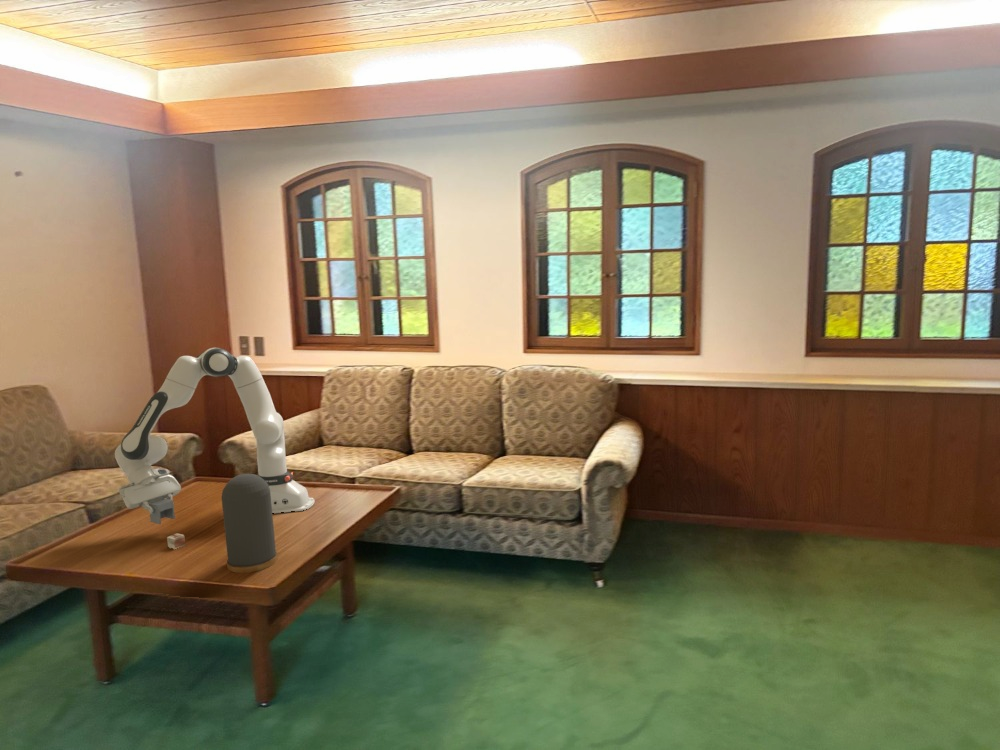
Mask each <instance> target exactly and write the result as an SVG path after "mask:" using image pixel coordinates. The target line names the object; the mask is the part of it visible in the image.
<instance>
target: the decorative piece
mask: <svg viewBox="0 0 1000 750" xmlns="http://www.w3.org/2000/svg"><path fill="white" fill-rule="evenodd" d="M221 506H222V513H223V514H222V515H223V517H222V518H223V526H224V527H223V528H224V534H225V535H224V536H225V544H226V555H227V560H226V565H227V566H226V567H227V570H229V571H230V572H233V573H241V574H242V573H245V574H246V573H253V572H259V571H261V570H265V569H267V568H270V567H271V566H273V565H275V562H276V561H277V562H278V560H277V559H279V558H278V556H279V555H278V552H277V551H276V550H277V549H276V541H275V539H276V538H275V529H274V518H273V514H272V504H271V493H270V488H269V485H268V484H267V483H266V482H265V480H264V479H262V478H261V477H260V476H258V474H255V473H254V474H253V473H241V474H238V475H236V476H234V477H232V478H231V479H230V480H229V481H227V483H225V486H224V487H223V488H222V492H221ZM277 562H276V563H277Z"/></svg>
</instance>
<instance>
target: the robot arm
mask: <svg viewBox="0 0 1000 750" xmlns="http://www.w3.org/2000/svg"><path fill="white" fill-rule="evenodd" d="M204 376H210V377H223V376H228V377H229V378H230V380H231V381H232V383H233V386H234V388H235V390H236V393H237V394H238V396H239V398H240V399H239V400H240V402H241V403H242V406H243V409H244V412H245V414H246V417H247V421H248V423H249V426H250V429H251V431H252V434H253V436H254V438H255V439H256V459H257V471H258V474H257V475H258V476H260V477H261V478H262V479H264V480H265V482H266V483H267V484H268V485H269V488H270V493H271V504H272V513H274V514H282V513H281V512H284V513H292V512H291V511H295V512H304V511H306V509H307V510H308V509H310V508H311V507H313V505H314V504H315V501H316V500H315V498H314V497H310V496H309V493H308V489H307V488H306V487H305V486H304V485H302V484H301V483H299V482H298V481H295V480H294V479H293V475H294V474H293V473H294V472H293V471H292V472H289V470H288V469H287V466H288V465H287V458H286V455H287V454H286V443H285V442H286V441H285V440H286V439H285V438H286V437H285V423H284V422H285V421H284V419H283V416H282V415H281V414H280V412H277V410H276V408H275V405H274V403H273V399H272V396H271V393H270V391H269V389H268V387H267V384H266V383H265V382H266V381H265V380H264V378H263V374H262V373H261V371H260V369H259V367H258V366H257V364H256V363H255V361H254V360H253V359H252V357H250V356H248V355H239V356H237V357H236V356H234V355H233V354H231V353H230V352H229V351H228V350H226V349H223V348H220V347H210V348H208V349H207V350H204V351H202V353H200V354H199V355H198V356H196V357H195V356H191V355H182V356H179V357H178V358H177V359H176V361H175V363H174V364H173V365H172V366H171V368H170V370H169V371H168V374H167V375H166V377H165V380H164V382H163V383H162V385H161V386H160V388H159V390H158V391H157V392H156V393H154V394H153V395H152V396H151V397H150V399H149V400H148V402H147V404H145V406H144V407H143V410H142V411H141V413H140V415H139V416H138V418H137V420H136V421H135V423H134V425H133V426H132V428H131V429H130V430H129V431H128V432H127V433H126V434H125V435H124V436H123V438H122V439H121V442H120V444H119V445H118V446H117V447H116V449H115V450H114V458H115V460H116V463H117V465H118V466H119V468H120V469H121V471H122V473H124V474H125V476H126V478H127V480H128V482H129V483H128V484H126V485H122V486H120V488H119V489H118V493H119V495H120V496H121V497H122V499H123V501H124V504H125V506H126V508H127V509H129V510H132V509H135V508H140V507H141V508H142V509H144V510H145V511H147V512H148V513H149V515H150V514H152V513H155V511H156V510H155V509H154V507H151V506H149V503H152V502H155V501H158V500H161V499H168V500H172V501H174V500H173V497H174V496H177V495H178V494H179V493H180V491H181V490H182V485H180V483H179V482H178V480H177V479H176V477H175V476H173V475H172V474H170V470H169V469H167V468H153V467H152V465H155V464H156V463H158V462H159V461H161V460H162V459H164V458H165V457H166V456H167V454H168V452H169V445H168V441H167V440H166V439H165V438H164V437H162V436H158V435H155V434H151V433H152V432H153V430H154V428H155V426H156V424H157V423H158V421H159V419H160V418H161V417H162V416H163V414H165V413H166V412H167V411H170V410H173V409H176V408H181V407H184V406H185V405H187V404H188V403H189V402H190V401H191V399H192V397H193V395H194V394H195V391H196V389H197V387H198V385H199V382H200V380H201V379H202V378H203V377H204ZM173 504H174V505H175V502H173ZM303 510H304V511H303Z"/></svg>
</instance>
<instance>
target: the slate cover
mask: <svg viewBox="0 0 1000 750" xmlns="http://www.w3.org/2000/svg"><path fill="white" fill-rule="evenodd" d="M173 503H174V500H168V499H166V498H165V499H161V500H158V501H155V502H152V503H149V504H148V505H149V506H151V507H154V509H155V510H156V511H155V513H152V514H150V513H149V520H150V522H151V523H154V524H157V525H161V524H162V521H161V519H165V518H167V519H171V520H176V517H175V516H176V515H175V503H174V504H173Z"/></svg>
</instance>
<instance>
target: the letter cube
mask: <svg viewBox="0 0 1000 750" xmlns="http://www.w3.org/2000/svg"><path fill="white" fill-rule="evenodd" d="M185 538H186V537H185V535H184V534H181V533H174V534H171V535H169V536H167V537H166V539H167V548H168V547H169V548H168V549H171V548H173V549H172V550H175V549H176V550H178V549H180V548H179V547H181V548H183V547H186V539H185ZM182 546H183V547H182ZM177 548H178V549H177Z"/></svg>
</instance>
